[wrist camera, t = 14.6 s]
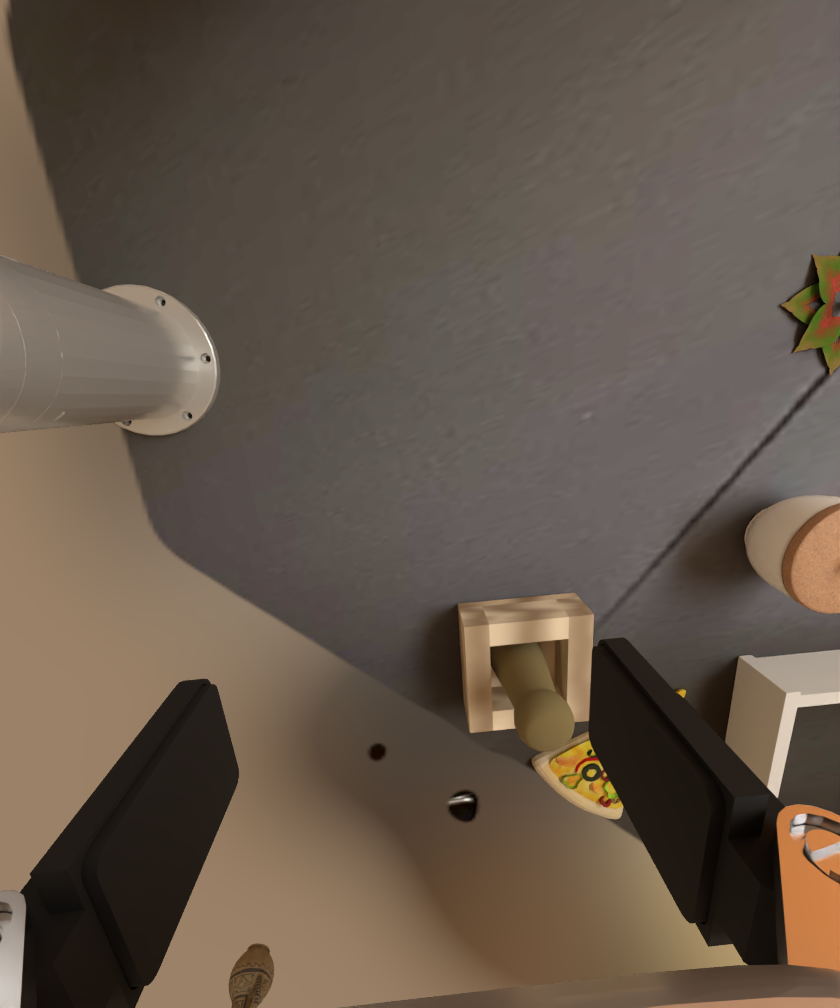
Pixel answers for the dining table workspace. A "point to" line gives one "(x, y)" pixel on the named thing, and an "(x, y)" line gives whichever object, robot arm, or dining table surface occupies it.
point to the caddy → (516, 621)
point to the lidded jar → (799, 549)
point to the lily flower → (820, 311)
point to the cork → (533, 696)
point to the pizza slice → (581, 776)
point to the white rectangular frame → (776, 706)
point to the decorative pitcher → (251, 977)
